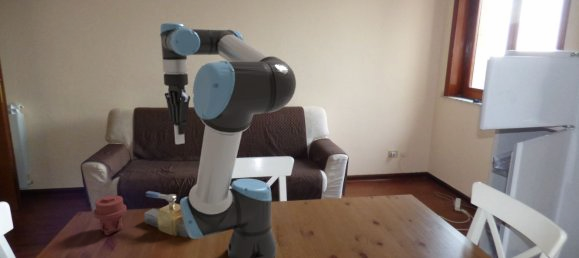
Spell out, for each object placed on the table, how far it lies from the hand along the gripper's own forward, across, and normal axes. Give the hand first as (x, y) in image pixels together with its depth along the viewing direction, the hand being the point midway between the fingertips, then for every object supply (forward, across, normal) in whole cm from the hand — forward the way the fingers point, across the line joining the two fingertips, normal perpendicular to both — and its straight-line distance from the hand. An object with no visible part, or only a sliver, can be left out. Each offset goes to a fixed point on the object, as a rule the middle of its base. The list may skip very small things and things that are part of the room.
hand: (180, 143), depth 124 cm
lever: (+19, +4, +6) cm, 21 cm away
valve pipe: (+30, +2, +5) cm, 31 cm away
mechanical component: (+30, +14, +20) cm, 39 cm away
